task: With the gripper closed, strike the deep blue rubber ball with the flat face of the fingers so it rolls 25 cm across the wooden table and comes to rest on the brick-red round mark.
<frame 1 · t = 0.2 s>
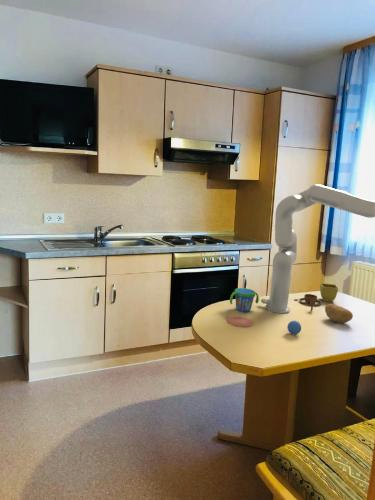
ball: (294, 327, 182), on the table
potato: (337, 322, 203), on the table
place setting: (306, 305, 228), on the table
flower pot: (327, 300, 239), on the table
snack cup: (243, 310, 210), on the table
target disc: (239, 321, 193), on the table
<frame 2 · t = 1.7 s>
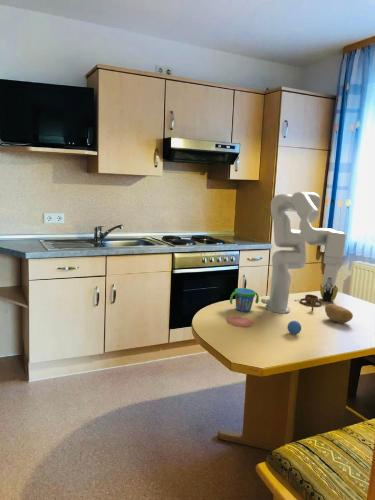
hand: (327, 299, 177), 18 cm above the table, tool pointing down, fingers open, 9 cm apart
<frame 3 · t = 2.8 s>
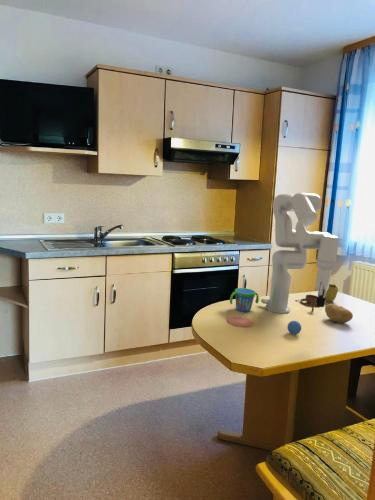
hand: (320, 305, 176), 15 cm above the table, tool pointing down, fingers closed
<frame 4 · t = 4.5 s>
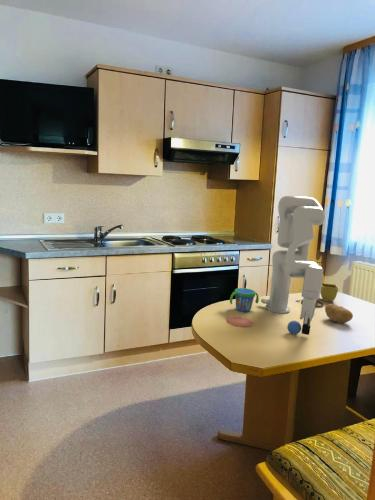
hand: (305, 333, 180), 1 cm above the table, tool pointing down, fingers closed
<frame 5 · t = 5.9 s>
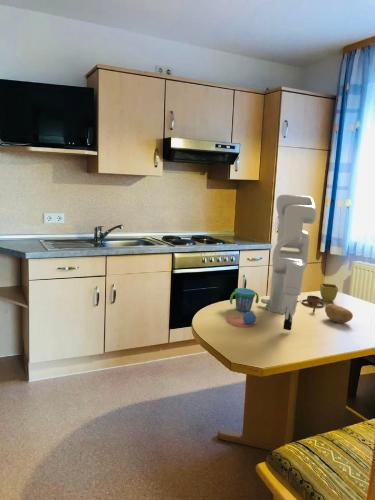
hand: (287, 329, 183), 2 cm above the table, tool pointing down, fingers closed
ball: (249, 318, 190), on the table
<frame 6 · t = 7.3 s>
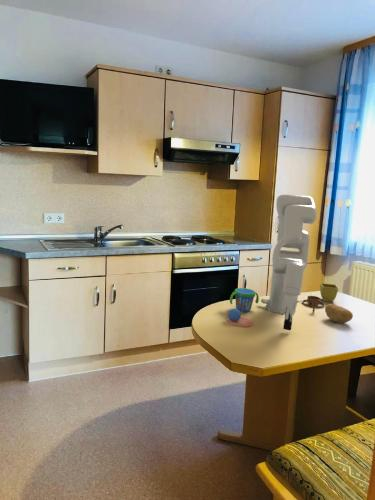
hand: (287, 329, 183), 2 cm above the table, tool pointing down, fingers closed
ball: (234, 315, 192), on the table
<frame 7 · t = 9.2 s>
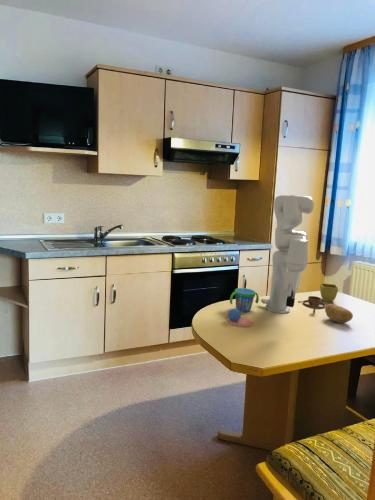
hand: (289, 306, 182), 12 cm above the table, tool pointing down, fingers closed
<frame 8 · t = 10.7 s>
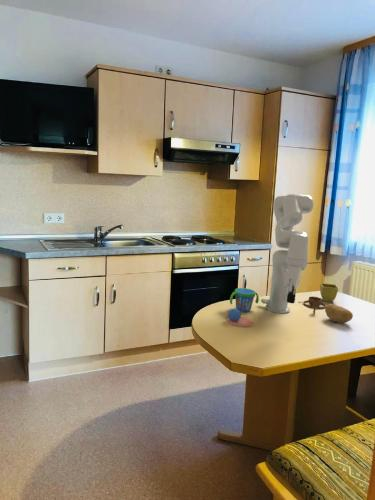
hand: (290, 302, 181), 14 cm above the table, tool pointing down, fingers closed
at the end: ball 2.9 cm from the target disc (horizontally); ball at rest at the end (0.0 cm/s); ball moved 27.7 cm from its start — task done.
